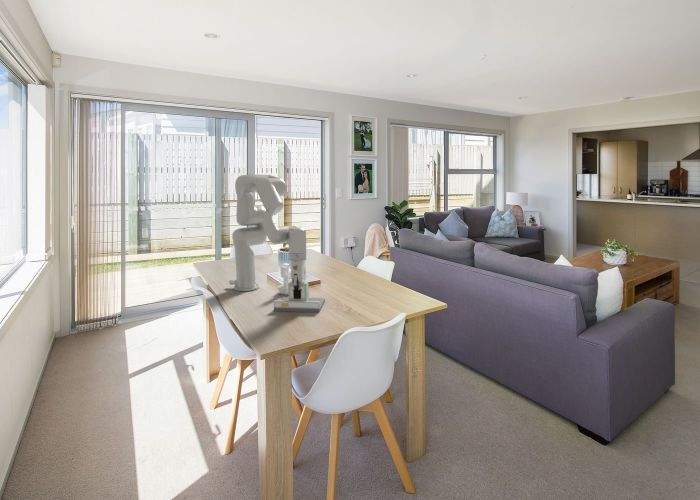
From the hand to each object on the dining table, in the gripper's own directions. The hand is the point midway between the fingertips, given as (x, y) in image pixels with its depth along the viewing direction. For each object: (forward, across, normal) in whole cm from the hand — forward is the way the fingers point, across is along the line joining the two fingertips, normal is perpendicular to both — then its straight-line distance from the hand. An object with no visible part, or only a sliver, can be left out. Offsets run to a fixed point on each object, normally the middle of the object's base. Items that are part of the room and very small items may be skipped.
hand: (298, 296), depth 183 cm
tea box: (+3, 0, 0) cm, 3 cm away
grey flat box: (+5, +3, 0) cm, 6 cm away
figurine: (+6, +23, +11) cm, 26 cm away
